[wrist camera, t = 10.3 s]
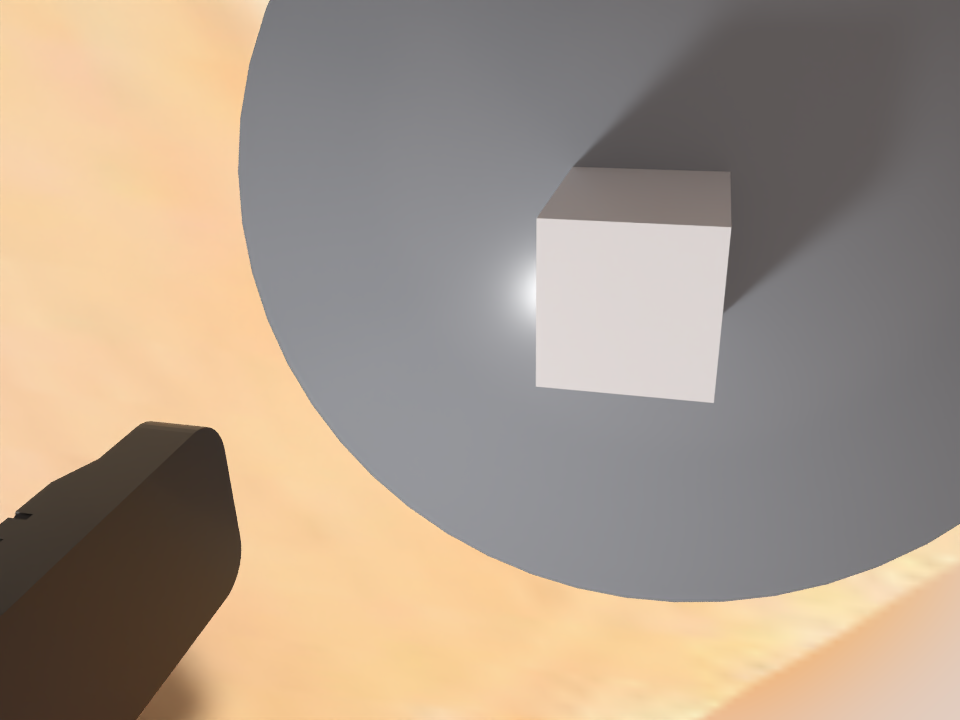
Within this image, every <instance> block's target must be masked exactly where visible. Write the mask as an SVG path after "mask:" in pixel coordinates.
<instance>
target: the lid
mask: <svg viewBox="0 0 960 720" xmlns="http://www.w3.org/2000/svg"><path fill="white" fill-rule="evenodd" d="M238 174H239V187H240V200H241V212H242V224H243V229H244V234H245V239H246V244H247V249H248V254H249V259H250V264H251V269H252V273H253V276H254V279H255V283H256V286H257V289H258V292H259V295H260V298H261V301H262V304H263V307H264V310H265V313H266V316H267V319H268V322H269V324H270V326H271V328H272V330H273V333H274V335H275V337H276V339H277V341H278V344H279V346H280V348H281V350H282V352H283V355H284V357H285V359H286V361H287V363H288V365H289V367H290V368H291V370H292V372H293V373H294V375H295V377H296V378H297V380H298V382H299V383H300V385H301V387H302V388H303V390H304V392H305V393H306V395H307V397H308V398H309V400H310V402H311V403H312V405H313V406H314V408H315V409H316V410H317V412H318V413H319V414H320V416H321V417H322V418H323V420H324V421H325V422H326V423H327V425H328V426H329V427H330V429H331V430H332V431H333V433H334V434H335V435H336V437H337V438H338V439H339V441H340V442H341V443H342V444H343V445H344V446H345V447H346V448H347V449H348V450H349V452H350V453H351V454H352V455H353V456H354V457H355V458H356V459H357V460H358V461H359V462H360V463H361V464H362V465H363V466H364V467H365V468H366V470H367V471H368V472H369V473H370V474H371V475H372V476H373V477H374V478H375V479H377V480H378V481H379V482H380V483H381V484H382V485H384V486H385V487H386V488H387V489H388V490H390V491H391V492H392V493H393V494H394V495H395V496H397V497H398V498H399V499H400V500H401V501H402V502H404V503H405V504H406V505H407V506H408V507H410V508H411V509H412V510H414V511H415V512H417V513H418V514H420V515H421V516H423V517H424V518H426V519H427V520H428V521H430V522H431V523H433V524H434V525H436V526H437V527H439V528H440V529H441V530H443V531H444V532H446V533H447V534H449V535H451V536H453V537H455V538H457V539H458V540H460V541H462V542H464V543H466V544H468V545H469V546H471V547H473V548H475V549H477V550H478V551H480V552H482V553H484V554H486V555H488V556H490V557H492V558H495V559H497V560H499V561H502V562H504V563H506V564H509V565H511V566H514V567H516V568H518V569H521V570H523V571H525V572H528V573H530V574H533V575H536V576H540V577H543V578H546V579H549V580H553V581H556V582H559V583H562V584H566V585H569V586H572V587H576V588H580V589H585V590H590V591H595V592H600V593H605V594H610V595H615V596H620V597H626V598H636V599H647V600H658V601H668V602H724V601H733V600H742V599H751V598H760V597H768V596H776V595H781V594H785V593H790V592H794V591H799V590H803V589H808V588H812V587H817V586H821V585H826V584H829V583H832V582H835V581H838V580H841V579H844V578H847V577H850V576H853V575H855V574H858V573H861V572H864V571H867V570H870V569H873V568H876V567H879V566H881V565H883V564H885V563H887V562H889V561H892V560H894V559H896V558H898V557H900V556H902V555H904V554H907V553H909V552H911V551H913V550H915V549H917V548H919V547H921V546H924V545H926V544H928V543H929V542H931V541H933V540H934V539H936V538H938V537H939V536H941V535H942V534H944V533H946V532H947V531H949V530H951V529H952V528H954V527H956V526H957V525H959V524H960V0H270V1H269V3H268V6H267V8H266V11H265V14H264V17H263V21H262V24H261V27H260V31H259V34H258V37H257V41H256V44H255V47H254V51H253V54H252V57H251V61H250V64H249V70H248V76H247V82H246V88H245V94H244V100H243V106H242V112H241V118H240V142H239V166H238Z"/></svg>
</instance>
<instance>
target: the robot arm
mask: <svg viewBox="0 0 960 720" xmlns="http://www.w3.org/2000/svg"><path fill="white" fill-rule="evenodd" d="M240 559H241V540H240V533H239V528H238V522H237V516H236V511H235V505H234V500H233V494H232V488H231V483H230V477H229V472H228V466H227V460H226V455H225V449H224V445H223V442H222V439H221V437H220V436H219V434H218V433H217V432H216V431H215V430H214V429H212V428H208V427H200V426H190V425H181V424H171V423H162V422H152V421H150V422H145V423H142V424H140V425H139V426H138V427H136V428H135V429H134V430H133V431H131V432H130V433H129V434H128V435H127V436H125V437H124V438H123V439H122V440H121V441H120V442H118V443H117V444H116V445H115V446H114V447H112V448H111V449H110V450H109V451H108V452H106V453H105V454H104V455H103V456H102V457H101V458H99V459H98V460H96V461H94V462H92V463H90V464H88V465H86V466H84V467H81V468H79V469H77V470H75V471H73V472H71V473H69V474H67V475H65V476H63V477H61V478H59V479H57V480H55V481H53V482H51V483H50V484H49V485H48V486H46V487H45V488H44V489H43V490H41V491H40V492H39V493H38V494H37V495H35V496H34V497H33V498H32V499H30V500H29V501H28V502H27V503H26V504H24V505H23V506H22V507H21V508H19V509H18V510H17V511H16V515H15V517H14V518H7V519H6V520H5V521H4V522H2V523H1V524H0V720H136V719H137V718H138V716H139V715H140V714H141V712H142V711H143V710H144V708H145V707H146V706H147V704H148V703H149V701H150V700H151V699H152V697H153V696H154V695H155V693H156V692H157V691H158V689H159V688H160V687H161V685H162V684H163V683H164V681H165V680H166V679H167V677H168V676H169V675H170V673H171V672H172V671H173V669H174V668H175V667H176V665H177V664H178V663H179V661H180V660H181V658H182V657H183V656H184V654H185V653H186V652H187V650H188V649H189V648H190V646H191V645H192V644H193V642H194V641H195V640H196V638H197V637H198V636H199V634H200V633H201V632H202V630H203V629H204V628H205V626H206V625H207V624H208V622H209V621H210V620H211V618H212V617H213V615H214V614H215V613H216V611H217V610H218V609H219V607H220V606H221V605H222V603H223V602H224V601H225V599H226V598H227V596H228V595H229V593H230V591H231V589H232V587H233V585H234V583H235V580H236V577H237V574H238V570H239V566H240Z"/></svg>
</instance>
